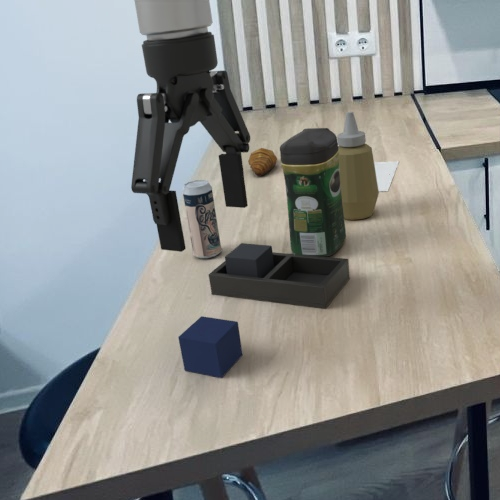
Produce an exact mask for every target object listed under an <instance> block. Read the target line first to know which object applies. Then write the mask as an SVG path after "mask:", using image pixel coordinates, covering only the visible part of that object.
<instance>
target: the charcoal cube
mask: <svg viewBox="0 0 500 500" xmlns="http://www.w3.org/2000/svg"><path fill="white" fill-rule="evenodd" d="M273 252H274V251H273V246H272V245H271V244H270V245H268V244H257V243H245V242H241V243H240V244H239V245H237V246H236V247H234V249H232V250H231V251H230V252H229V253H227V254H226V255H225V256H224V261H225V262H226V269H227V274H230V275H239V276H248V277H257V278H264V277H265V276H266V275H267V274H268V273H269V272H270V271H271V270H272V269H274V260H273Z"/></svg>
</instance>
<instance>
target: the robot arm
mask: <svg viewBox="0 0 500 500" xmlns="http://www.w3.org/2000/svg"><path fill="white" fill-rule="evenodd" d="M133 1H134V6H135V11H136V18H137V24H138V31H139V33H140V34H141V35H142V36H145V37H146V40H143V41H142V44H141V49H142V55H143V60H144V67H145V71H146V74H147V76H148V77H150V78H151V79H152V78H153V80H154V81H155V83H156V92H149V93H147V92H146V93H138V94H137V96H136V105H137V114H138V115H137V116H138V122H137V128H136V129H137V131H136V139H135V148H134V157H133V167H132V178H131V184H130V185H131V187H130V188H131V191H132V193H133V194H143V195H144V194H145V195H147V196H148V198H149V200H148V201H149V204H150V210H151V215H152V216H151V217H152V220H153V223H154V224H155V225H156V229H157V234H158V240H159V246H160V249H161V251H162V250H163V251H170V252H171V251H172V252H180V253H182V252H183V251H186V243H185V237H184V230H183V226H182V220H181V214H180V210H179V209H180V208H179V201H178V197H177V191H176V190H170V189H171V187H172V181H173V178H174V175H175V170H176V166H177V163H178V159H179V155H180V151H181V147H182V143H183V140H184V136H185V135H187V134H188V133H189V132H190V128H192V127H194V126H196V124H198V123H200V124H201V125H202V126H203V128H204V129H205V130H206V132H207V133H208V134H209V136H210V137H211V138H212V139H213V141H214V142H215V144H216V145H217V146H218V147H219V149H220V150H221V151H222V152H223V153H221V154H218V161H219V169H220V175H221V176H220V177H221V182H222V183H221V184H222V189H223V194H224V195H223V196H224V203H225V207H226V208H243V209H245V208H247V207H248V205H249V204H248V197H247V191H246V189H247V188H246V181H245V172H244V164H243V158H242V157H243V156H242V153H249V152H250V144H249V143H251V134H250V132H249V130H248V127H247V124H246V123H245V120H244V117H243V115H242V113H241V110H240V109H239V106H238V104H237V101H236V99H235V97H234V94H233V92H232V90H231V86H230V80H229V75H228V71H227V70H214V69H216V68H217V67H218V65H219V63H218V61H219V60H218V54H217V47H216V41H215V34H213V33H212V31H209V29H208V27H211V26H212V25H213V14H212V8H211V3H210V0H133Z"/></svg>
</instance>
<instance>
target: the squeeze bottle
mask: <svg viewBox="0 0 500 500" xmlns="http://www.w3.org/2000/svg"><path fill="white" fill-rule="evenodd" d="M356 120H357V119H356V117H355V114H354V111H347V112H345V118H344V125H343V131H342V132H341V133H338V134H337V135H336V137H337V143H338V151H339V175H340V186H341V195H342V205H343V213H344V220H351V221H353V220H364V219H367V218H370V217H371V216H373V215H374V212H375V208H376V205H377V201H378V198H379V194H380V191H379V190H378V184H377V178H376V172H375V166H374V162H375V160H374V155H373V154H374V153H373V149H372V148H373V147H372V146H371V145H369V144H367V143H366V142H367V138H366V133H365V132H364V131H361V130H359V127H358V124H357V121H356Z"/></svg>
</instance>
